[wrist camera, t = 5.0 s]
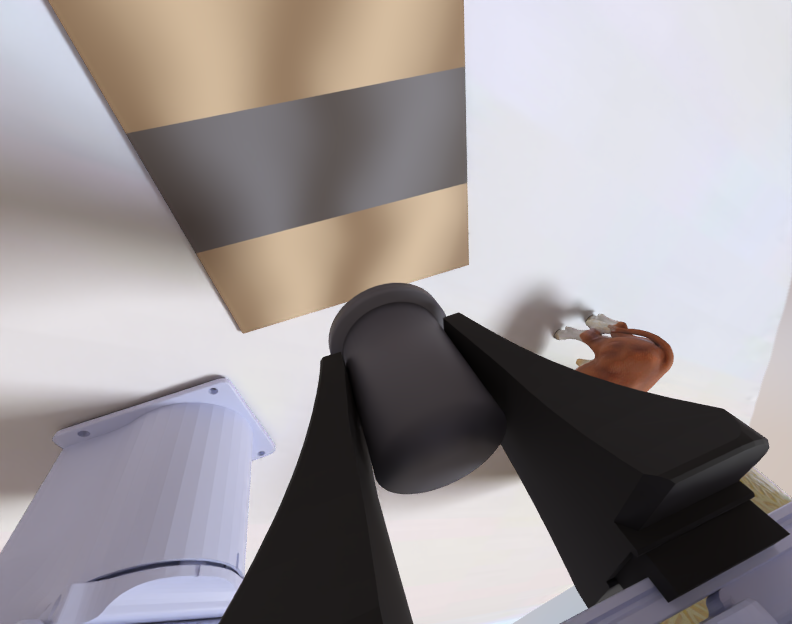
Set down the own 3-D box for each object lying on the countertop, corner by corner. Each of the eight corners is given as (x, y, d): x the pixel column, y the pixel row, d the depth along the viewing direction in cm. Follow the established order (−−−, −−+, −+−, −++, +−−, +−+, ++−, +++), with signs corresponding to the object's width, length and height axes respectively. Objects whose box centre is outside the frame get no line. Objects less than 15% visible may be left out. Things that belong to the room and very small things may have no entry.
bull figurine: (492, 409, 31) (550, 493, 24) (584, 291, 25) (689, 358, 19) (522, 412, 33) (583, 490, 26) (613, 304, 27) (717, 368, 21)
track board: (243, 331, 18) (243, 333, 18) (-211, -450, 6) (-224, -464, 6) (467, 263, 20) (468, 264, 20) (452, -409, 8) (455, -420, 8)
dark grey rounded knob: (345, 392, 13) (377, 521, 9) (312, 304, 10) (336, 434, 6) (444, 357, 14) (514, 463, 10) (436, 267, 11) (527, 362, 7)
